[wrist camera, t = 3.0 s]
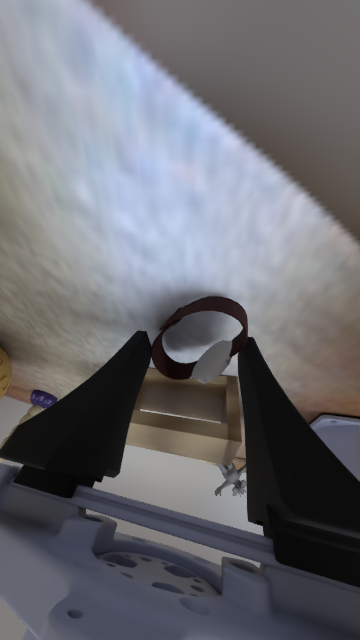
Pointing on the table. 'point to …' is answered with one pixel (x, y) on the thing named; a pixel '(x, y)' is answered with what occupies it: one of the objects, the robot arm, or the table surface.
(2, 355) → the stress ball
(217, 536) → the robot arm
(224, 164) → the table surface
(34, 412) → the toy lamp
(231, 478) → the gray toy figurine
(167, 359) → the watch
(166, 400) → the shelf
